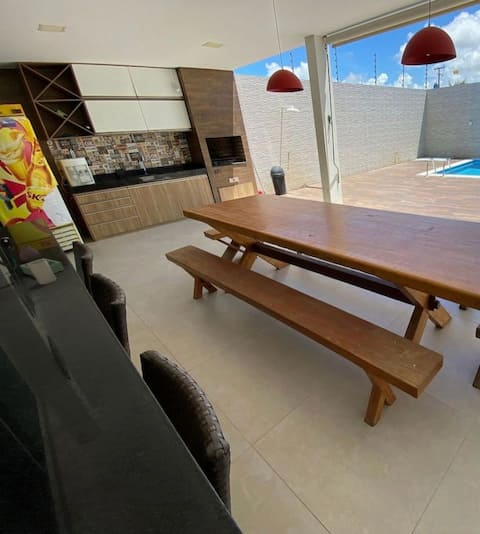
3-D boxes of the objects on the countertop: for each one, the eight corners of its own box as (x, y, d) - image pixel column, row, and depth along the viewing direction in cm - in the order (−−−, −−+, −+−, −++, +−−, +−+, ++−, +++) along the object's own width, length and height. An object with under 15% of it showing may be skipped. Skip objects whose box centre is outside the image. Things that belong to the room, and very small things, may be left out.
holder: (41, 278, 133) (37, 270, 131) (24, 273, 139) (19, 265, 138) (64, 270, 140) (60, 262, 138) (47, 265, 146) (43, 258, 144)
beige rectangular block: (43, 285, 126) (31, 265, 122) (36, 283, 128) (24, 264, 125) (59, 279, 131) (48, 260, 127) (52, 277, 133) (42, 258, 129)
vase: (23, 267, 146) (13, 250, 142) (25, 263, 151) (16, 246, 147) (43, 262, 150) (33, 246, 146) (44, 258, 155) (35, 242, 151)
